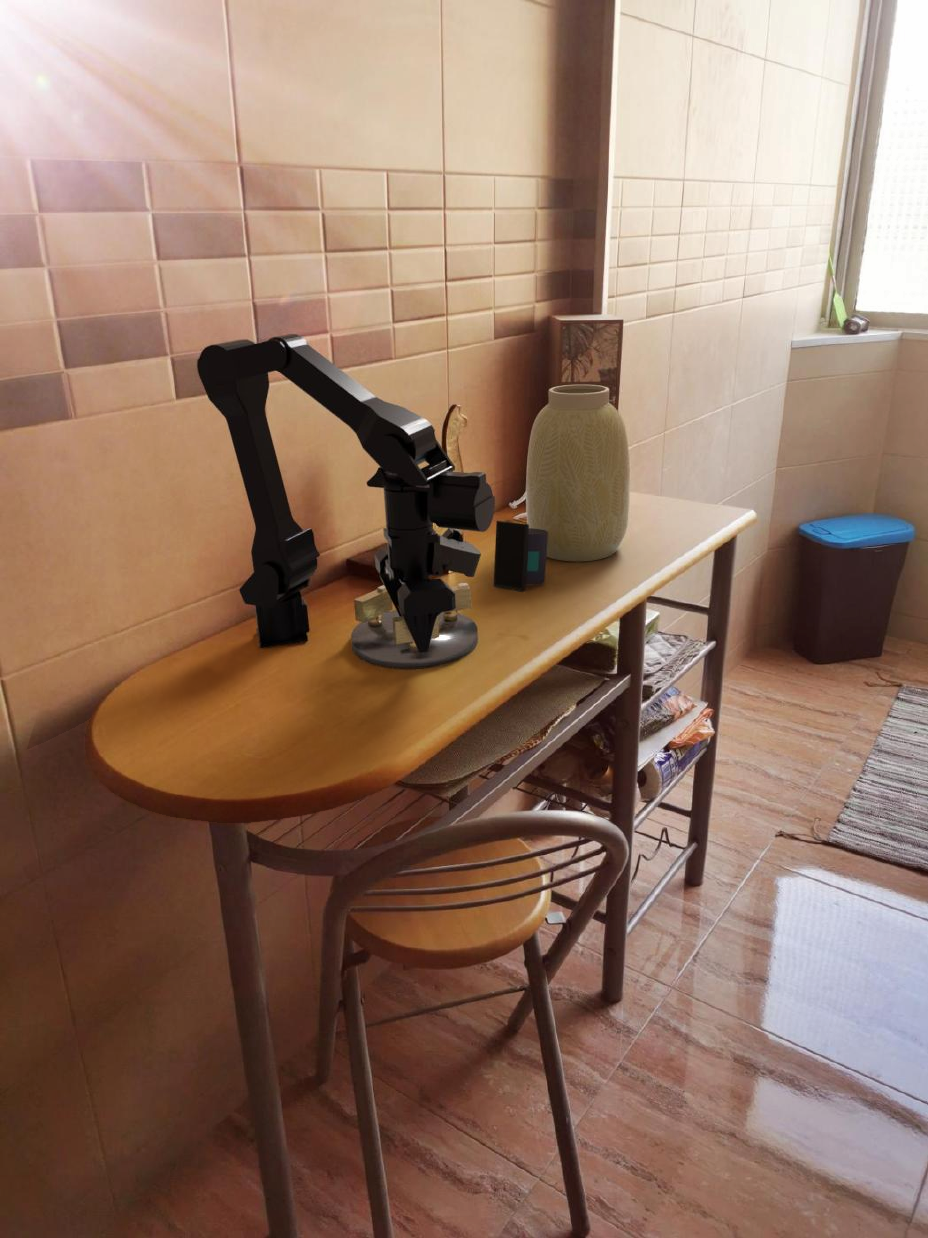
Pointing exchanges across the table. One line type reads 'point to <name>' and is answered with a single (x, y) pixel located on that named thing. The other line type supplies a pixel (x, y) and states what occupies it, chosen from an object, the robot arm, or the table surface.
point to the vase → (579, 474)
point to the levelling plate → (386, 653)
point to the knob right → (459, 602)
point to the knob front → (404, 635)
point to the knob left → (373, 607)
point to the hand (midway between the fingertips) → (416, 640)
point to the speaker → (519, 556)
